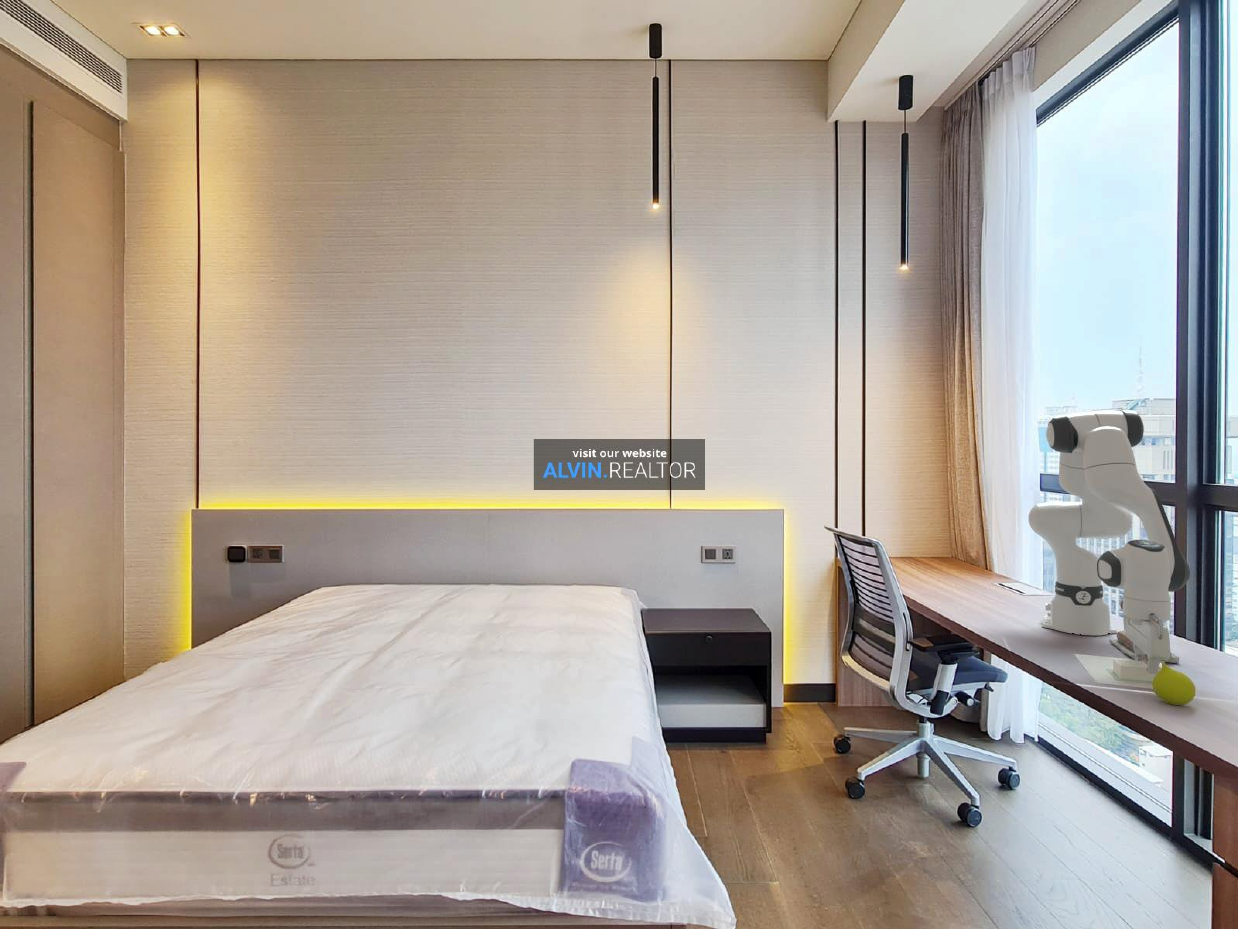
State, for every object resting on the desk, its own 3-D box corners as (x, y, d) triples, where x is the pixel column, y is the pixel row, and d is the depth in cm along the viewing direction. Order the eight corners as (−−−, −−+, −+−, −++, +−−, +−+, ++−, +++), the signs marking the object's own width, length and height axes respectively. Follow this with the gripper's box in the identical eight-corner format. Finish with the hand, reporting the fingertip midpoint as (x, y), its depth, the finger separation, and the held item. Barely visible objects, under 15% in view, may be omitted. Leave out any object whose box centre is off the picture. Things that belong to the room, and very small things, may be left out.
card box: (1113, 658, 162) (1163, 662, 158) (1113, 671, 162) (1164, 675, 158) (1120, 665, 156) (1173, 670, 152) (1120, 678, 156) (1173, 683, 152)
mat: (1073, 655, 176) (1073, 653, 176) (1157, 663, 169) (1157, 661, 169) (1096, 684, 154) (1096, 682, 154) (1194, 695, 147) (1194, 692, 147)
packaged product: (1180, 645, 166) (1132, 641, 170) (1180, 664, 166) (1133, 660, 170) (1151, 628, 183) (1108, 626, 187) (1151, 646, 183) (1108, 643, 186)
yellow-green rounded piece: (1145, 697, 146) (1145, 652, 146) (1181, 698, 145) (1181, 653, 145) (1165, 709, 139) (1165, 662, 139) (1203, 711, 138) (1203, 663, 138)
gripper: (1179, 621, 146) (1179, 683, 146) (1148, 601, 164) (1148, 657, 165) (1144, 618, 148) (1144, 680, 148) (1117, 599, 167) (1118, 654, 167)
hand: (1146, 667), depth 157 cm, fingers open, 7 cm apart
